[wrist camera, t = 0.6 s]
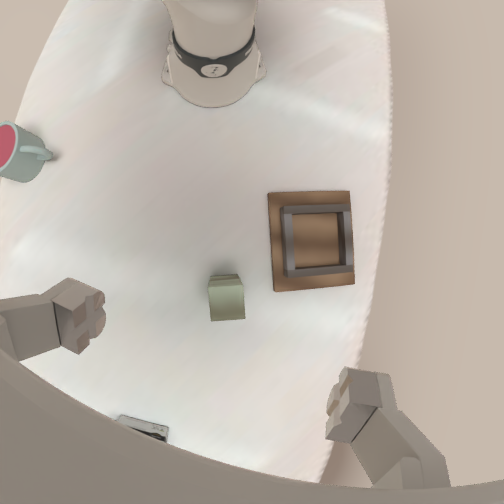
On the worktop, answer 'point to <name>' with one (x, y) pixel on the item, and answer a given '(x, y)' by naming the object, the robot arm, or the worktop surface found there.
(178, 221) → the worktop surface
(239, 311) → the green peg
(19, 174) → the mug
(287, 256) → the display stand
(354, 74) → the worktop surface
